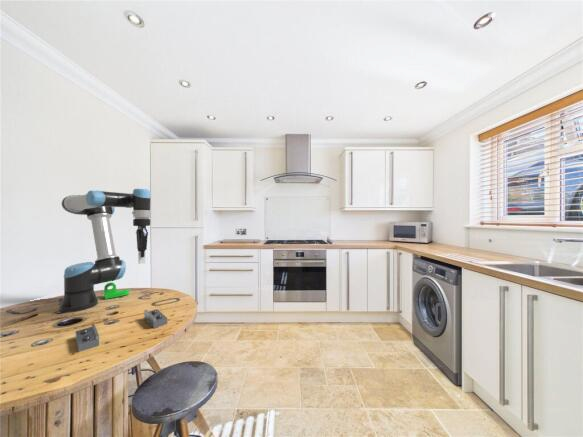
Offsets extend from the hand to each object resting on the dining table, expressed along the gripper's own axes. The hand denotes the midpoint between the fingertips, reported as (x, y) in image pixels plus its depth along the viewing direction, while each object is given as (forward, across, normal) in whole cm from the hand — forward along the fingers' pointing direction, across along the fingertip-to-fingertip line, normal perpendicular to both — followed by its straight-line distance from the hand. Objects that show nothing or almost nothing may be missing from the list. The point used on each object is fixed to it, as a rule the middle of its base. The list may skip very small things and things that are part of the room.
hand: (141, 263), depth 117 cm
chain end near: (+24, +21, -23) cm, 40 cm away
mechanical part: (+25, -37, -5) cm, 44 cm away
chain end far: (+24, +21, 0) cm, 32 cm away
